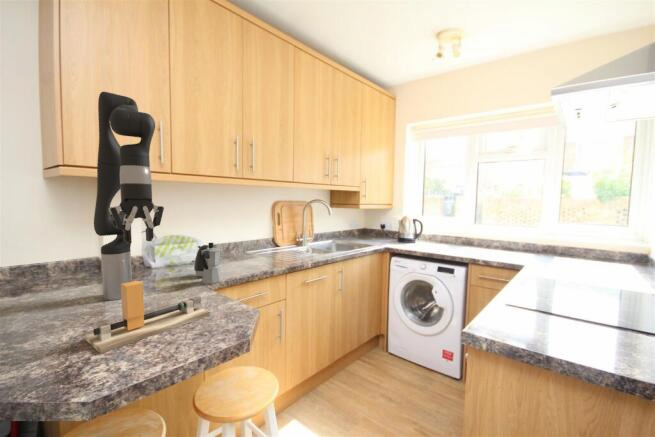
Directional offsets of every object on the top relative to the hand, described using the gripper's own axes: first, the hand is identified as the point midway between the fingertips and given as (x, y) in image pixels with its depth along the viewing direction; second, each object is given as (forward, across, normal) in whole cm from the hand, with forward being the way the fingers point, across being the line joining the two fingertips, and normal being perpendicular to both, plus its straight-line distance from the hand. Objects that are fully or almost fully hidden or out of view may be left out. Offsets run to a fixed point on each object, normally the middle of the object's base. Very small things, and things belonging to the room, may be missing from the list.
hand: (138, 241), depth 85 cm
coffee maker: (+26, -38, -26) cm, 53 cm away
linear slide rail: (+25, -2, +2) cm, 25 cm away
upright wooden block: (+23, +3, +2) cm, 24 cm away
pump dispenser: (+26, -43, -39) cm, 63 cm away
